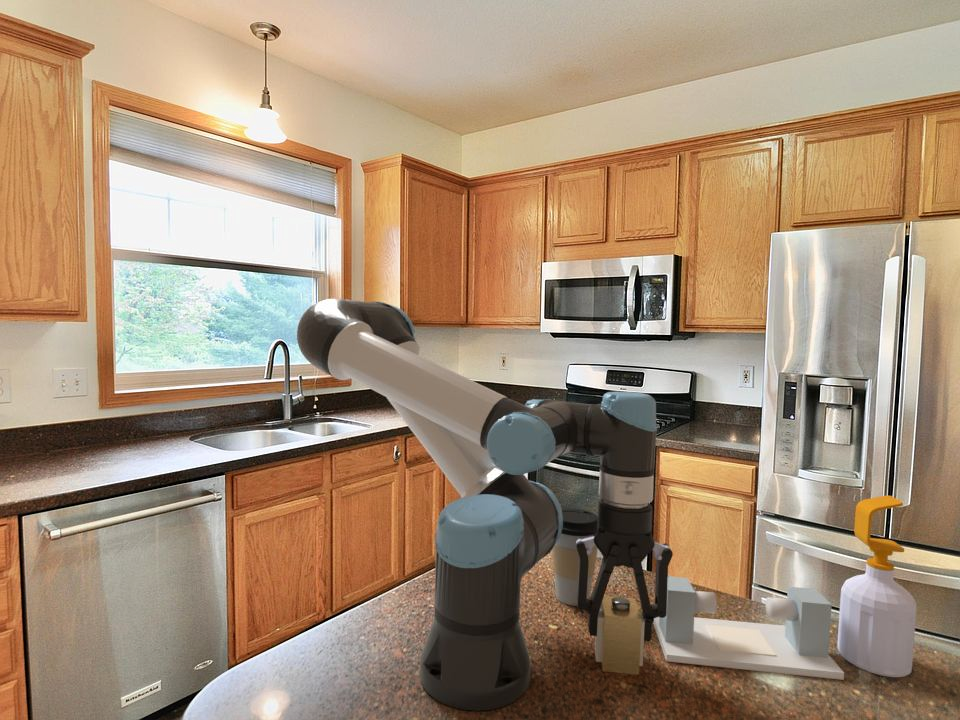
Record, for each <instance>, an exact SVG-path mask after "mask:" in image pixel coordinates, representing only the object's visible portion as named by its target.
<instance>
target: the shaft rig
mask: <svg viewBox="0 0 960 720" xmlns="http://www.w3.org/2000/svg"><path fill="white" fill-rule="evenodd" d="M786 594H787V597H786V598H781V597H769V596H768V597H766V598H765V611H766V616H767V617H768V618H769V619H770V620H779V621H785V625H780V624H769V623H757V622H749V621H748V622H747V621H739V620H726V619H717V618H716V619H715V618H706V617H695V613H701V614H702V613H703V614H704V613H705V614H713V615H714V614H717V611H718V600H717V595H716V593H715V592H713V591H703V590H702V591H699V590H695V588H694V587H693V585H692V584H691V582H690V580H689V578H688V577H679V576H678V577H677V576H668V583H667V613H666V616H665V617H664V618H661V617H657V618H654V622H653V623H652V625H653V626H654V629H655V633H656V636H657V638H658V640H659V641H658V642H659V644H660V646H661V650H662V653H663V655H664V656H663V657H664V658H665V659H664V660H665V661H666V662H669V663H678V664H690V665H698V666H708V667H716V668H717V667H718V668H728V669H736V670H744V671H745V670H748V671H754V672H755V671H756V672H764V673H765V672H766V673H773V674H784V675H792V676H804V677H805V676H806V677H814V678H824V679H831V680H842V681H843V680H845V672H844V671H843V670H842V668H841V667H840V666H839V665H838V664H837V662H836V661H835V660H834V659H833V658H832V657H831V656H830V654H829V650H830V649H829V647H830V633H831V619H832V604H831V603H830V601H828V600H827V599H826V598H825V597H824V596H823V595H822V593H820V592H819V591H818V590H817V589H816V588H811V587H810V588H809V587H798V586H797V587H796V586H787V593H786Z"/></svg>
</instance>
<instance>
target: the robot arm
mask: <svg viewBox="0 0 960 720" xmlns="http://www.w3.org/2000/svg"><path fill="white" fill-rule="evenodd" d="M415 332H416V330H415V327H414V325H413V321H412V320H411V319H410V317H409V316H408V315H407V313H405V311H403V310H402V309H401V308H399V307H398V306H395V305H393V304H389V303H386V302H382V301H361V300H354V299H353V300H352V299H345V298H344V299H343V298H327V299H323V300H320V301H318V302H316V303H313V304H312V305H311V306H309V308H308V309H307V310H306V311H304V313H303V314H302V316H301V318H300V319H299V322H298V325H297V328H296V333H297V334H296V341H297V344H298V347H299V350H300V352H301V354H302V355H303V356H304V358H305V360H306V361H308V362H309V363H310V364H311V365H312V366H313V367H315V368H317V369H318V370H320V371H322V372H324V374H327V375H330V376H331V377H332V378H335V379H337V380H339V381H347V380H353V381H355V382H357V383H359V384H361V385H363V386H365V387H367V388H369V389H370V390H371V391H374V392H375V393H378V394H380V396H381V395H382V396H383V397H386V399H387V401H388V402H389V403H390V405H391V406H392V407H393V409H394V410H395V412H397V413H398V415H399V416H400V418H401V419H402V420H403V421H404V422H405V424H406V426H407V427H408V428H409V429H410V431H411V432H412V433H413V434H414V436H415V437H416V438H417V440H418V441H419V442H420V443H421V445H422V446H423V448H424V449H425V450H426V452H427V453H428V454H429V456H430V457H431V458H432V460H433V461H434V463H436V465H437V467H439V469H440V470H441V471H442V473H443V475H444V476H445V478H447V479H448V481H449V483H450V484H451V485H452V486H453V487H454V489H455V490H456V491H457V493H458V495H460V498H457V499H455V500H453V501H451V502H449V503H448V504H447V505H446V506H445V507H444V508H443V509H442V510H441V512H440V514H439V515H438V518H437V527H436V531H435V537H434V546H435V574H434V577H435V578H434V613H433V614H434V615H433V616H434V617H433V620H432V624H431V626H430V629H429V631H428V635H427V637H426V641H425V643H424V646H423V649H422V650H421V651H422V652H421V654H420V655H421V656H420V659H419V679H420V682H421V685H422V687H423V688H424V690H425V691H426V692H427V694H428V695H430V697H432V698H433V699H435V700H436V701H438V702H440V703H441V704H444V705H446V706H448V707H451V708H455V709H458V710H459V709H460V710H465V711H488V710H489V711H490V710H495V709H498V708H502V707H505V706H508V705H510V704H512V703H514V702H515V701H516V700H518V699H520V698H521V697H522V696H523V695H524V694H525V692H526V691H527V690H528V688H529V685H530V683H531V668H532V667H531V658H530V653H529V649H528V645H527V643H526V640H525V635H524V632H523V629H522V625H521V621H520V609H521V586H522V585H521V584H522V579H523V578H524V576H525V575H526V574H528V573H529V572H530V571H531V570H532V569H533V568H534V567H535V566H536V565H537V564H538V563H539V562H540V561H541V560H543V559H545V557H546V556H548V555H549V554H550V553H552V549H553V547H554V546H555V544H556V542H557V541H558V539H559V537H560V535H561V532H562V527H563V514H562V510H561V509H562V506H561V503H560V502H559V499H558V497H556V495H555V494H554V493H553V491H552V490H551V489H550V488H549V487H547V486H545V485H544V484H543V483H540V482H535V481H532V480H529V479H528V478H527V477H526V475H525V474H529V473H532V472H536V471H538V470H541V469H543V468H544V467H545V466H546V465H548V464H549V463H550V462H551V461H553V460H555V459H557V458H559V457H562V456H563V455H565V454H567V453H568V454H577V455H586V456H592V457H594V456H595V457H596V456H597V457H599V462H600V463H599V477H598V479H599V480H598V496H599V497H600V499H599V500H598V501H597V502H598V503H597V517H598V522H597V529H596V531H595V533H594V535H593V537H589V538H585V539H583V538H582V537H578V538H577V539H576V546H577V551H578V554H579V569H578V586H577V605H578V606H577V609H578V610H580V611H585V612H587V613H588V625H587V628H588V634H589V636H590V637H595V639H594V640H595V641H594V656H595V662H597V663H601V661H602V638H603V613H602V609H601V604H602V601H603V597H604V596H605V594H606V591H607V587H608V586H609V585H608V584H609V581H610V578H611V575H612V574H613V572H614V568H615V567H623V566H624V567H626V568H629V569H631V568H632V571H633V575H634V580H635V581H634V582H635V585H636V589H637V594H638V599H639V604H640V608H641V612H640V611H639V612H640V615H641V619H642V621H641V642H640V663H639V667H644V666H643V664H644V647H645V646H644V644H645V642H651V640H652V638H653V637H652V636H653V635H652V633H653V632H652V631H653V622H654V618H657V617H661V618H664V617H665V616H666V613H667V583H668V574H669V566H670V563H671V560H672V558H673V555H674V553H673V551H672V549H671V547H670V545H669V544H668V543H661V542H656V541H655V540H654V538H653V535H652V534H653V533H652V529H653V524H652V523H653V506H652V504H650V503H652V501H653V500H654V481H655V480H654V474H655V458H656V445H657V444H656V443H657V432H658V426H657V402H656V399H655V398H654V397H653V396H652V395H650V394H647V393H643V392H642V393H641V392H635V391H633V392H631V391H607V392H606V393H604V394H603V396H602V401H601V402H600V403H598V404H596V403H594V404H592V403H591V404H590V403H581V402H571V401H564V400H562V401H561V400H553V399H551V398H547V399H530V400H527V401H526V403H525V404H523V403H520V402H518V401H516V400H514V399H511V398H508V397H507V396H506V395H503V394H502V393H499V392H497V391H495V390H493V389H491V388H489V387H487V386H485V385H482V384H480V383H478V382H476V381H474V380H472V379H471V378H467V376H463V375H461V374H459V373H457V372H454V371H453V370H451V369H448V368H446V367H445V366H442V365H440V364H438V363H436V362H433V361H432V360H429V359H427V358H425V357H423V356H421V355H420V349H421V348H420V347H421V346H420V345H419V343H418V342H417V341H416V337H415ZM595 545H596V546H597V548H598V551H599V552H600V554H601V555H602V559H601V563H600V564H601V565H600V568H599V571H598V574H597V576H596V579H595V583H594V586H593V589H592V593H591V594H590V598H589V599H587V581H588V564H589V560H588V555H589V554H591V553H592V548H593V546H595ZM651 552H653V555H654V558H655V580H654V582H655V585H654V604H651V601H650V597H649V593H648V588H647V584H646V582H647V581H646V578H645V572H644V569H643V564H642V563H643V561H644V560H645V559H646V558H647V556H648V555H649V554H650V553H651Z"/></svg>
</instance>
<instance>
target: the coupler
mask: <svg viewBox="0 0 960 720" xmlns="http://www.w3.org/2000/svg"><path fill="white" fill-rule="evenodd" d="M636 600H637V599H636V598H632V597H623V596H612V595H609V596H608V595H604V597H603V601H602V604H601V607H600V609H602V613H603V638H602V661H601V662H600V664H601V671H602V672H609V673H618V674H627V675H637V676H639V674H640V666H639V663H640V642H641V621H642V619H641V615H640V610H639V606H638V603H637V601H636Z"/></svg>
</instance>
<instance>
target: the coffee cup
mask: <svg viewBox="0 0 960 720" xmlns="http://www.w3.org/2000/svg"><path fill="white" fill-rule="evenodd" d="M561 510H562V514H563V527H562V532H561V535H560V537H559V539H558V541H557V542H556V544H555V546H554V547H553V549H552V551H551V554H552V570H553V573H554V575H553V576H554V586H555V587H554V589H555V590H554V591H555V597H556V599H557V601H559V602H561V603H562V604H565V605H568V606H576V607H578V605H577V586H578V569H579V554H578V551H577V546H576V539H577V538H578V537H582V538H583V539H585V538H589V537H593V535H594V533H595V531H596V529H597V522H598V514H595V513H594V512H592V511H589V510H585V509H582V508H581V509H580V508H568V507H567V508H561ZM598 551H599V549H598V548H597V546H596V545H595V546H593V548H592V553H591V554H589V555H588V560H589V564H588V581H587V599H589V600H590V598H591V591H592V583H593V577H594V575H595V570H596V569H595V568H596V564H597V557H598V556H597V555H598Z"/></svg>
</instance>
